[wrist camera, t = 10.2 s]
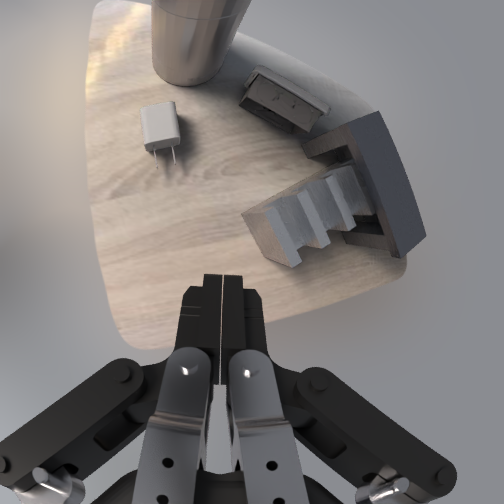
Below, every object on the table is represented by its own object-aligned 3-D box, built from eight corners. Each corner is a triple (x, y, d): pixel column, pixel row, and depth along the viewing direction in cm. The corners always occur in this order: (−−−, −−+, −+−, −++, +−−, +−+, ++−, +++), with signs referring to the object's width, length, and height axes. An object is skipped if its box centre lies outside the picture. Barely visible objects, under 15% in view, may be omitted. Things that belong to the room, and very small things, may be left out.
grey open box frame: (295, 147, 36) (346, 123, 24) (331, 131, 37) (387, 107, 26) (341, 247, 39) (400, 258, 28) (372, 225, 41) (433, 230, 29)
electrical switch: (305, 115, 36) (339, 97, 27) (289, 146, 36) (321, 134, 27) (245, 81, 33) (264, 51, 24) (226, 112, 33) (241, 87, 25)
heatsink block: (240, 213, 35) (264, 212, 26) (338, 161, 38) (379, 150, 30) (262, 256, 36) (292, 267, 28) (355, 199, 39) (398, 197, 31)
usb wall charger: (174, 112, 31) (175, 100, 27) (183, 165, 32) (184, 159, 29) (141, 119, 30) (139, 107, 26) (149, 172, 31) (147, 167, 28)
